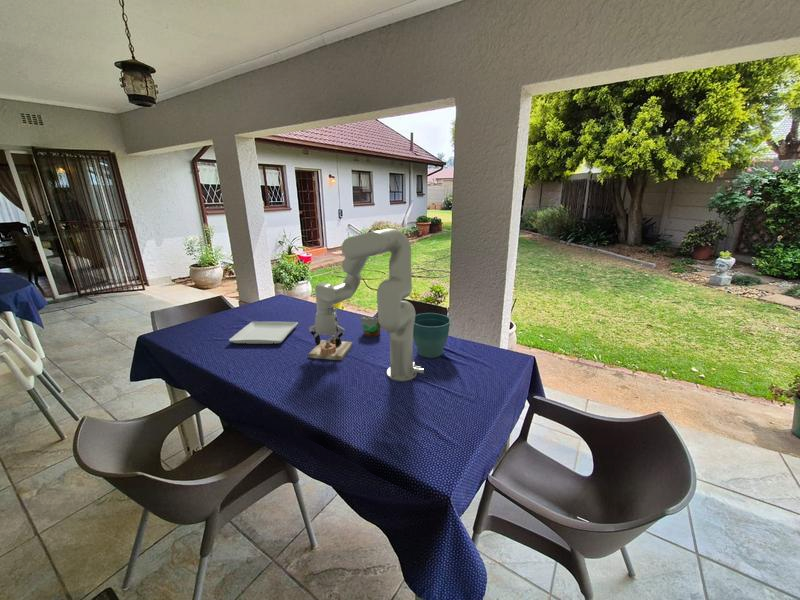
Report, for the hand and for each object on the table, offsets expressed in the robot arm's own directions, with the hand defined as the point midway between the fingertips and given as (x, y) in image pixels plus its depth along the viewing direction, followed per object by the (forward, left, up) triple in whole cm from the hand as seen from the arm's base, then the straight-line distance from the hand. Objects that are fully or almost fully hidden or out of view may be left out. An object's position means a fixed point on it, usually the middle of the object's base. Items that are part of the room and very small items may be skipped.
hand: (328, 345), depth 157 cm
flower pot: (-47, -10, -5) cm, 48 cm away
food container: (-13, -26, -5) cm, 29 cm away
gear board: (0, -4, -5) cm, 6 cm away
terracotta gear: (0, 0, -3) cm, 3 cm away
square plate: (+42, -17, -6) cm, 46 cm away
